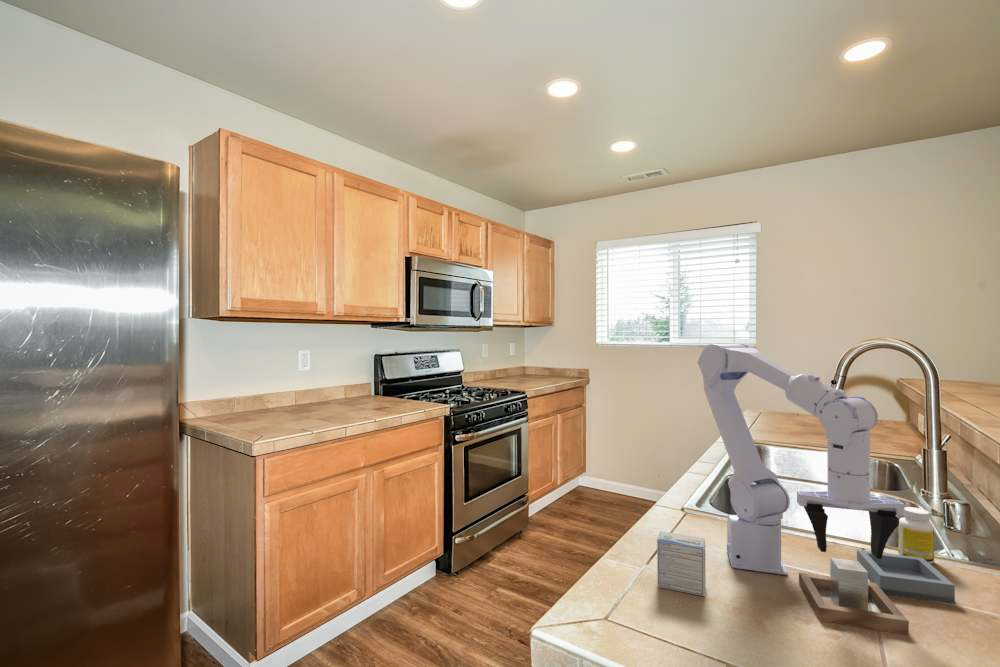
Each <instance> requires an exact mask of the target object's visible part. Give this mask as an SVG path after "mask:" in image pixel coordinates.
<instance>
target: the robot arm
mask: <svg viewBox="0 0 1000 667" xmlns="http://www.w3.org/2000/svg"><path fill="white" fill-rule="evenodd" d="M697 364H698V367H699V369H700V370H699V371H700V372H701V375H702V380H703V390H704V393H705V396H706V399H707V402H708V404H709V407H710V410H711V413H712V415H713V418H714V421H715V423H716V426H717V428H718V431H719V434H720V437H721V439H722V442H723V445H724V447H725V450H726V452H727V455H728V457H729V460H730V463H731V466H732V469H733V474H732V475H731V477H730V479H729V480H728V483H727V485H728V488H729V491H730V504H731V507H732V509H733V510H734V512H735V513H736V514H727V519H726V520H727V521H726V522H727V523H726V524H727V525H726V526H727V527H726V530H727V532H726V534H727V537H726V538H727V539H726V541H727V543H726V552H727V554H728V559H729V562H730V566H731V567H732V568H735V569H740V570H748V571H755V572H760V573H762V572H763V573H769V574H775V575H782V576H783V575H785V576H787V575H788V570H787V568H786V566H785V565H784V563H783V561H782V520H783V518H784V516H783V515H784V513H785V512H786V511H788V509H790V503H791V502H790V501H791V499H790V495H789V493H788V491H787V490H786V489H785V487H784V486H783V485H782V484H781V483H780V481H779V479H778V476H777V475H776V472H773V471H772V470H771V469H769V468H768V467H766V466H765V465H764V463H763V461H762V458H761V456H760V454H759V451H758V448H757V446H756V444H755V441H754V439H753V437H752V434H751V432H750V428H749V426H748V424H747V422H746V419H745V417H744V414H743V412H742V409H741V407H740V403H739V401H738V398H737V396H736V394H735V390H736V388H737V385H739V384H740V382H741V381H742V380H743V379H744V378H745V377H746V376H747V374H748V373H751V374H752V375H754V376H756V377H758V378H760V379H762V380H764V381H766V382H768V383H770V384H771V385H774V386H775V387H778V388H779V389H781V390H783V391H784V393H785V398H786V399H787V400H788V401H789V402H791V403H793V405H796V406H797V407H799V408H801V410H802V409H803V410H804V411H805V412H807V413H809V414H810V415H813V416H814V417H816V418H818V420H819V422H820V425H821V426H822V427H823V428H824V430H825V437H826V438H825V439H826V440H827V454H826V455H827V490H825V491H818V490H817V491H803V490H801V491H800V490H796V503H797V504H798V505H799V506H801V507H803V508H804V510H805V512H806V514H807V516H808V519H809V521H810V523H811V527H812V528H813V531H814V535H815V540H816V544H817V549H818V550H819V551H820V552H821V553H827V546H828V545H827V525H828V518H829V515H828V514H827V513H826V512H825V508H833V509H843V510H853V511H863V512H868V516H869V521H870V524H869V525H870V551H871V553H872V554H873V555H874V556H875V557H876V558H877V559H882V555H883V553H884V551H885V548H886V546H887V543H888V540H889V539H890V537H891V535H892V534H893V533H894V532H895V530H896V529H897V528H899V519H900V518H899V517H898V516H901V517H905V516H904V507H905V503H904V502H902V501H900V500H899V499H894V498H893V499H892V498H884V497H878V496H873V495H871V430H872V429H873V428H874V427H875V426H876V425H877V423H878V420H879V419H878V417H879V415H878V411H877V409H876V407H875V406H874V404H872V403H871V402H870V401H868V400H867V399H866V398H865V397H863V396H856V395H855V396H848V395H847V391H845V390H843V389H839V388H838V389H836V388H835V387H832V386H831V385H829V384H827V383H825V382H822V381H820V379H821V377H820V376H819V375H817V374H814V373H811V374H808V373H801V374H798V375H796V374H794V373H793V372H791V371H790V370H788V369H786V368H785V367H783V366H782V365H779V364H778V363H776V362H775V361H773V360H772V359H770V358H769V357H767V356H765V355H764V354H762V353H761V352H760V351H759V349H757V348H754V347H751V346H749V345H748V344H746V343H736V344H734V343H733V344H732V343H731V344H730V343H729V344H728V343H727V344H716V343H709V344H707V345H706V346H704V347H703V349H702V350H701V352H700V354H699V357H698V360H697ZM752 483H753V484H752Z"/></svg>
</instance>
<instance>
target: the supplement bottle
mask: <svg viewBox="0 0 1000 667" xmlns="http://www.w3.org/2000/svg"><path fill="white" fill-rule="evenodd" d="M929 521H930V512H929V511H928V510H926V509H922V508H919V507H913V506H904V516H902V517H900V518H899V525H898V542H897V543H898V544H897V545H898V555H904V556H912V557H921V558H923V559H925V560H926V561H927V562H928V563H929V564H930V565H932V564H931V563H933V562H935V527H934V524H932V523H930V522H929ZM933 564H934V563H933Z"/></svg>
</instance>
